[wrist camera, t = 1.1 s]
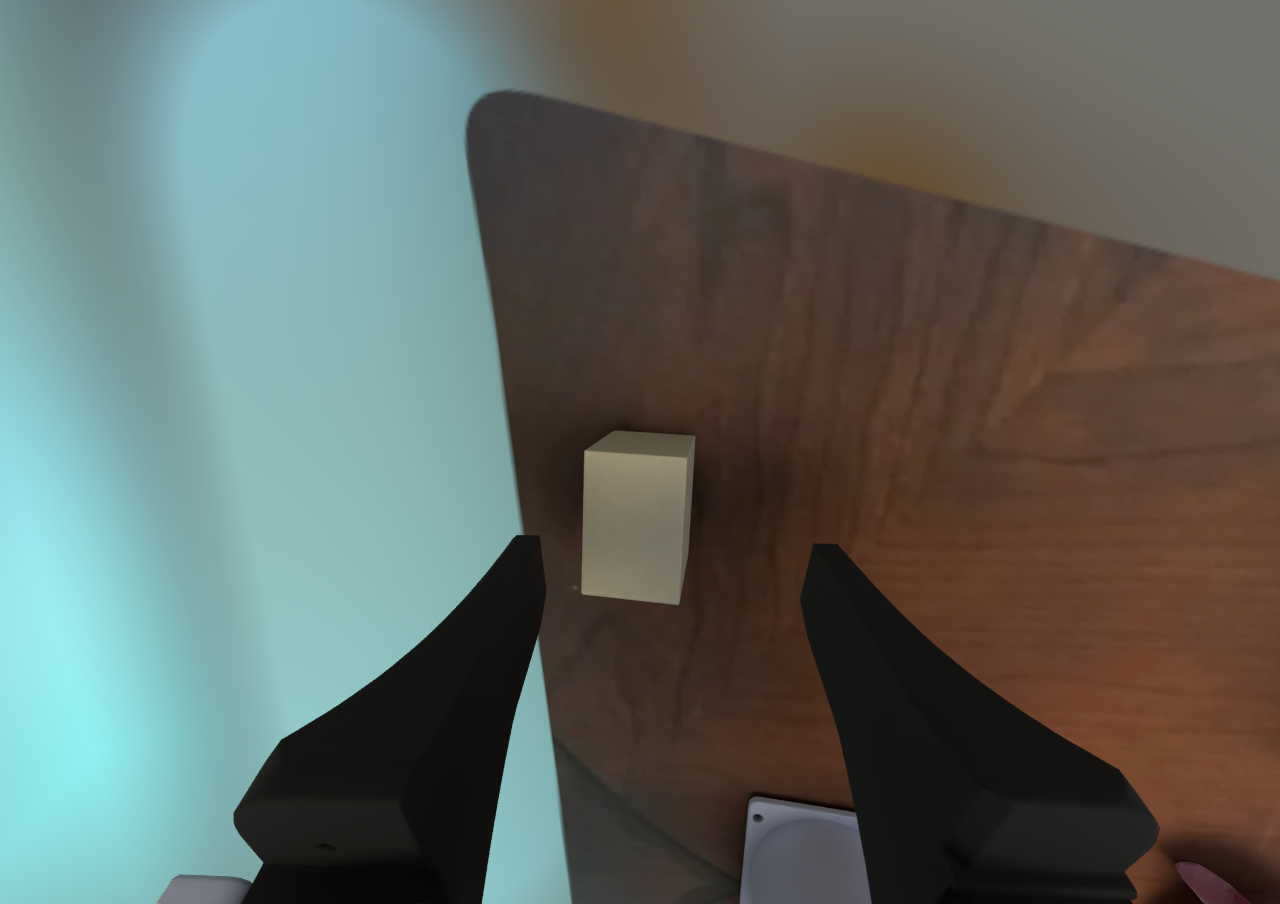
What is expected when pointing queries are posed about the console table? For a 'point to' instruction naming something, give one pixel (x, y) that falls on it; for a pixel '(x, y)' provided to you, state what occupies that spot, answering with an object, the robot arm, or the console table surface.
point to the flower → (1208, 885)
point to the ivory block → (637, 515)
